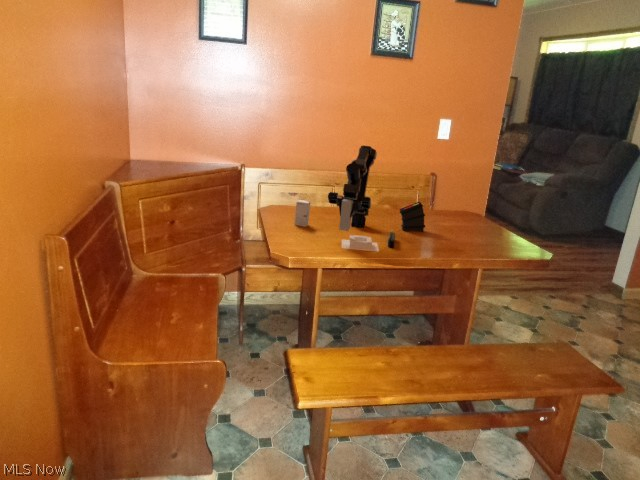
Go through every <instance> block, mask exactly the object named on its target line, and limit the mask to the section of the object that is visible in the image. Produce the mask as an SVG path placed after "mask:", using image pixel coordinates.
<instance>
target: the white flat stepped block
mask: <svg viewBox="0 0 640 480" xmlns="http://www.w3.org/2000/svg"><path fill="white" fill-rule="evenodd" d="M341 249H345V250H346V249H347V250H355V251H365V252H366V251H368V252H380V249H379V245H378V242H373V240H372V237H370V236H366V235H357V234H354V235H351V234H350V235H349V239H341Z"/></svg>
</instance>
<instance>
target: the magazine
mask: <svg viewBox="0 0 640 480" xmlns="http://www.w3.org/2000/svg"><path fill="white" fill-rule="evenodd" d="M423 207H424V205H423V204H422V202H421V201H417V202H414V203H412V204H410V205H407V206H404V207H402V208H399V213H400V214H401V218H400V220H401V222H402V224H401V230H402V232H416V233H417V232H419V233H424V230H425V228H426V224H425V216H426V214H425V212H424V208H423Z"/></svg>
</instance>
